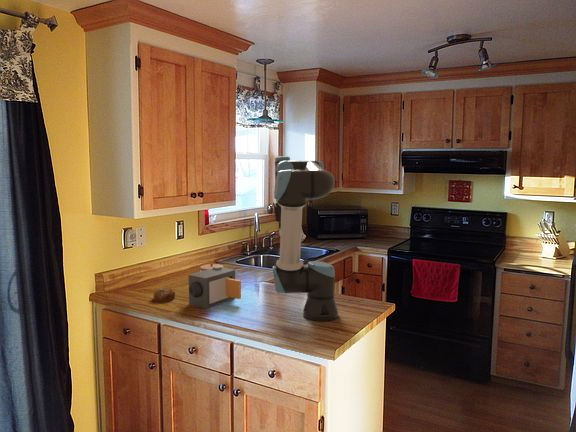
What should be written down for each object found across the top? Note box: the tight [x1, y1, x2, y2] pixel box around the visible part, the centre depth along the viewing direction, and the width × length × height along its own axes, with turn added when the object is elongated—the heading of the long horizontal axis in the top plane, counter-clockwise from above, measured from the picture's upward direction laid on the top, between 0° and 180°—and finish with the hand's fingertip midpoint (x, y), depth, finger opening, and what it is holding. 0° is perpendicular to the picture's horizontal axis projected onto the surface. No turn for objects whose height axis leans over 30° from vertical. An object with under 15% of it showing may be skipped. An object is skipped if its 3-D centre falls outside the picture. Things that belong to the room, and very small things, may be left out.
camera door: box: [209, 277, 242, 304], centre depth 224 cm, size 9×12×10 cm
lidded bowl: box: [199, 262, 225, 272], centre depth 265 cm, size 13×13×11 cm
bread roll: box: [153, 286, 176, 303], centre depth 235 cm, size 10×10×8 cm
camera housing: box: [187, 266, 236, 309], centre depth 231 cm, size 11×22×15 cm, turn 145°
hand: (282, 234), depth 245 cm, fingers closed
